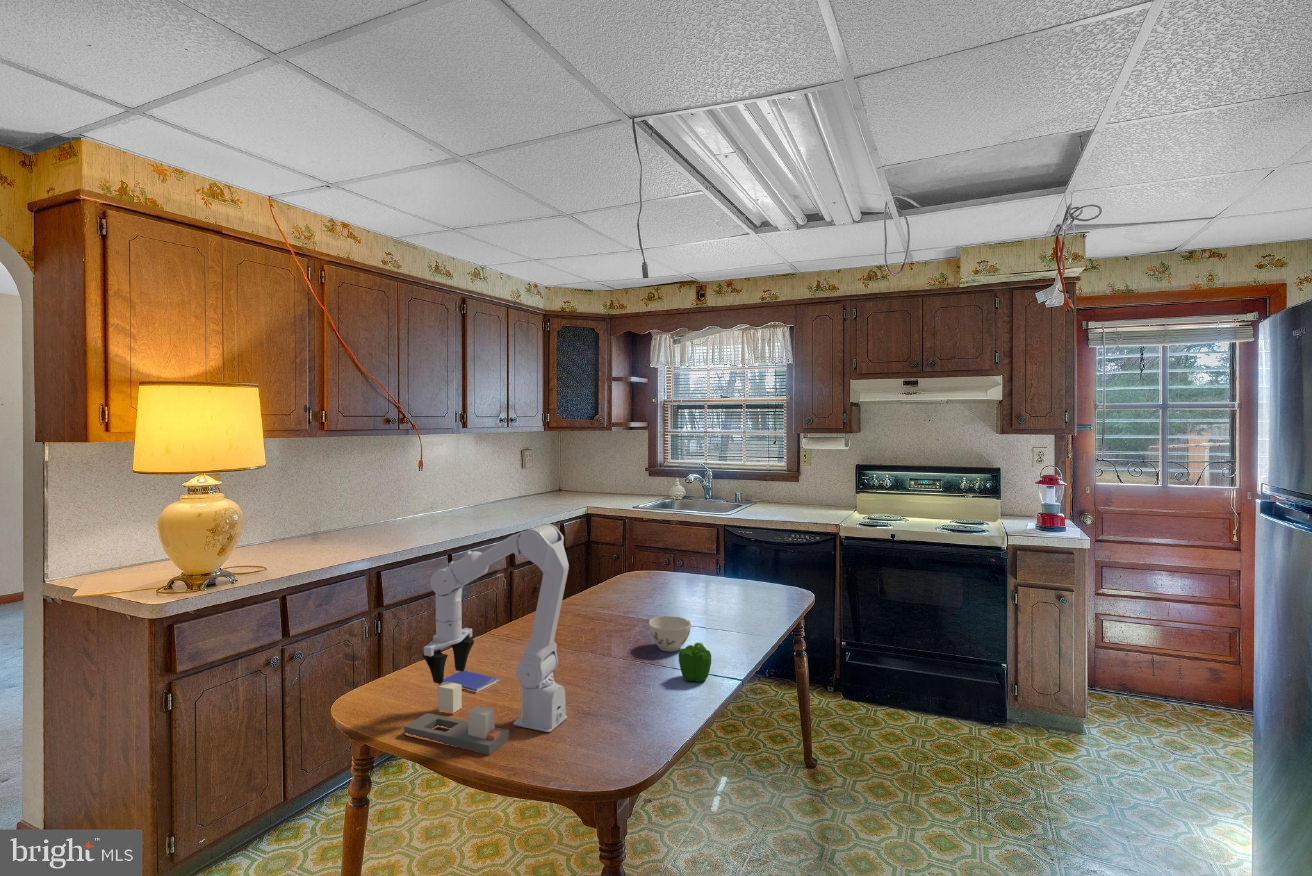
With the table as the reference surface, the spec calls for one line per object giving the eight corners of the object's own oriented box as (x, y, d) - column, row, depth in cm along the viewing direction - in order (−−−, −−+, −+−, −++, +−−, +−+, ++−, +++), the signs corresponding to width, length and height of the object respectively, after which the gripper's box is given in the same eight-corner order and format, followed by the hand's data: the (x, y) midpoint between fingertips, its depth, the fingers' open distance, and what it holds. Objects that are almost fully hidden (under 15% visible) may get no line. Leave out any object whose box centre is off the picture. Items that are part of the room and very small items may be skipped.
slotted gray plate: (509, 739, 140) (509, 707, 140) (489, 755, 134) (488, 721, 133) (427, 721, 148) (426, 691, 148) (404, 735, 142) (403, 703, 142)
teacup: (676, 659, 186) (676, 631, 186) (640, 650, 193) (640, 623, 193) (702, 644, 199) (702, 617, 199) (668, 636, 206) (668, 611, 206)
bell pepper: (674, 675, 175) (674, 638, 174) (702, 671, 178) (702, 634, 177) (686, 687, 167) (686, 648, 167) (716, 682, 170) (716, 644, 170)
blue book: (499, 677, 171) (464, 669, 177) (476, 689, 164) (440, 680, 170) (499, 683, 171) (464, 675, 177) (476, 695, 164) (440, 686, 170)
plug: (461, 709, 155) (461, 684, 154) (453, 715, 152) (453, 689, 152) (446, 706, 156) (446, 681, 156) (438, 711, 153) (437, 686, 153)
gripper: (455, 608, 162) (455, 663, 162) (412, 625, 148) (413, 685, 149) (479, 611, 159) (479, 667, 159) (438, 629, 145) (438, 690, 146)
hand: (449, 676), depth 154 cm, fingers open, 7 cm apart
